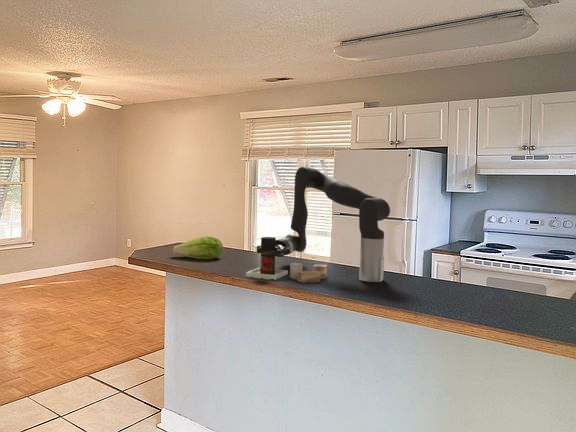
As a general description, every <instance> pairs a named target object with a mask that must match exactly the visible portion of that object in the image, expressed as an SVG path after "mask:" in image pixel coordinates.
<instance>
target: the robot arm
mask: <svg viewBox="0 0 576 432" xmlns="http://www.w3.org/2000/svg"><path fill="white" fill-rule="evenodd" d="M306 188H309V189H310V188H311V189H315V190H319V191H321V192H323V193H324V194H325V195H326V197H327V198H328V199H329V200H331V201H332V202H334V203H336V204H338V205H341V206H344V207H348V208H352V209H358V213H359V214H358V222H359V223H358V225H359V226H358V227H359V232H360V247H359V248H360V250H359V251H360V252H359V271H358V273H359V274H358V280H359V281H362V282H367V283H382V281H383V280H384V269H385V265H384V264H385V257H384V248H385V246H384V245H385V242H384V241H385V232H384V230H382V229H380V228H379V224H378V222H379V221H383V220H386V219H387V218H388V217H389V216H390V213H391V208H390V205H389V203H388V202H387V201H386V200H385V199H383V198H380V197H377V196H374V195H371V194H368V193H366V192H364V191H362V190H360V189H358V188H356V187H354V186H352V185H349V183H346V182H344V181H342V180H339V179H336V178H333V177H329V176H328V175H327V174H325V173H324V172H322V171H320V170H319V169H316V168H313V167H307V166H300V167H299V168H298V169H297V170H296V172H295V176H294V192H293V196H294V197H293V198H294V200H293V202H294V203H293V211H292V216H291V223H290V229H291V230H292V231H294V232H296V233H297V234H298V235H294V234H287V235H286V236H285V237H284V238H279V239H276V246H275V258H281V257H284V256H288V255H290V254H292V253H293V252H299V253H303V252H304V251H305V250H306V247H307V236H306V230H307V229H306V228H307V222H308V217H309V214H308V213H309V211H308V206H307V204H306V198H305V192H306ZM256 253H257V254H259V255H260V254H261V244H260V245H257V246H256Z"/></svg>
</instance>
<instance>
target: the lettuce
mask: <svg viewBox="0 0 576 432" xmlns="http://www.w3.org/2000/svg"><path fill="white" fill-rule="evenodd" d="M223 246H224V245H223V242H222V241H221V240H220V239H219V238H215V237H214V236H204V237H198V238H193V239H190V240H187V241H185V242H183V243H180V244H178V245H176V246H173V249H172V251H173V252H172V253H174V254H176V255H180V256H183V257H186V258H192V259H197V260H213V259H216V258H219V257H220V256H221V255H222V254H223V251H224V249H223Z"/></svg>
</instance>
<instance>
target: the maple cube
mask: <svg viewBox="0 0 576 432" xmlns="http://www.w3.org/2000/svg"><path fill="white" fill-rule="evenodd" d="M312 266H313V267H312V271H314V270H316V271H319V272H321V279H323V280H326V279H327V271H328V269H327V268H328V265H327V264H319V263H318V264H316V263H315V264H314V265H312Z"/></svg>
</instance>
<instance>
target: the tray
mask: <svg viewBox="0 0 576 432" xmlns="http://www.w3.org/2000/svg"><path fill="white" fill-rule="evenodd" d="M287 274H288V275H289V270H288V269H276V268H275V275H269V274H260V267H257V268H254V269H252V270H249V271H246V273H245V277H246V278H252V277H253V278H254V279H261V278H263V280H270V279H274V280H273V281H277V280H279V279H282V278H283V276H284V277H286V276H288V275H287ZM285 275H286V276H285ZM281 277H282V278H281ZM278 278H279V279H278ZM276 279H277V280H276Z"/></svg>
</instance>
